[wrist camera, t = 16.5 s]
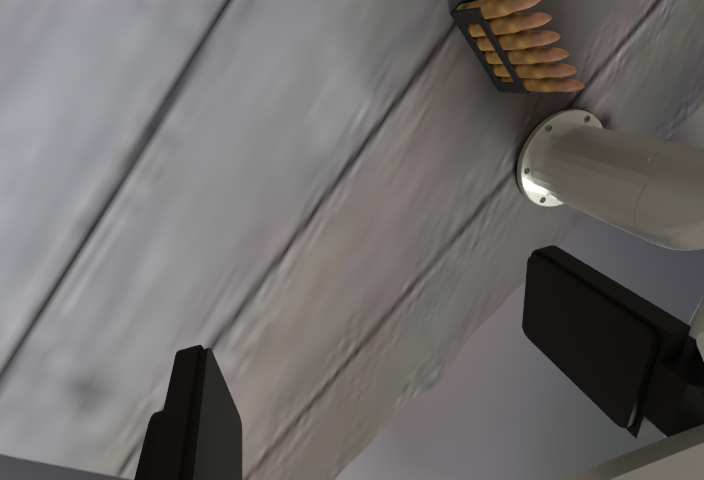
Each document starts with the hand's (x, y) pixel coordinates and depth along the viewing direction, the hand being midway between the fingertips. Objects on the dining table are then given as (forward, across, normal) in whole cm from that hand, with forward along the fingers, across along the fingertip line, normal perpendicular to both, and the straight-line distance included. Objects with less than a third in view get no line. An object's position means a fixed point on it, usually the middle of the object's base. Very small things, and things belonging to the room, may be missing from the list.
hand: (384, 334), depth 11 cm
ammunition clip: (+33, -24, -5) cm, 41 cm away
